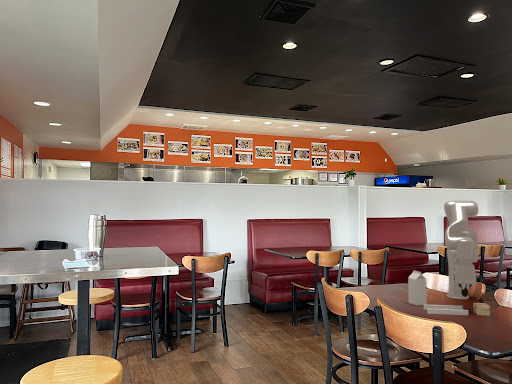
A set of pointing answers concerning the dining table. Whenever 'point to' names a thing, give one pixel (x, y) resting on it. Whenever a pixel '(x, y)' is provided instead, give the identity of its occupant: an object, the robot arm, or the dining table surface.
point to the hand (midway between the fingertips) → (464, 296)
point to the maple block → (481, 309)
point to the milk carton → (417, 289)
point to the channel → (445, 309)
